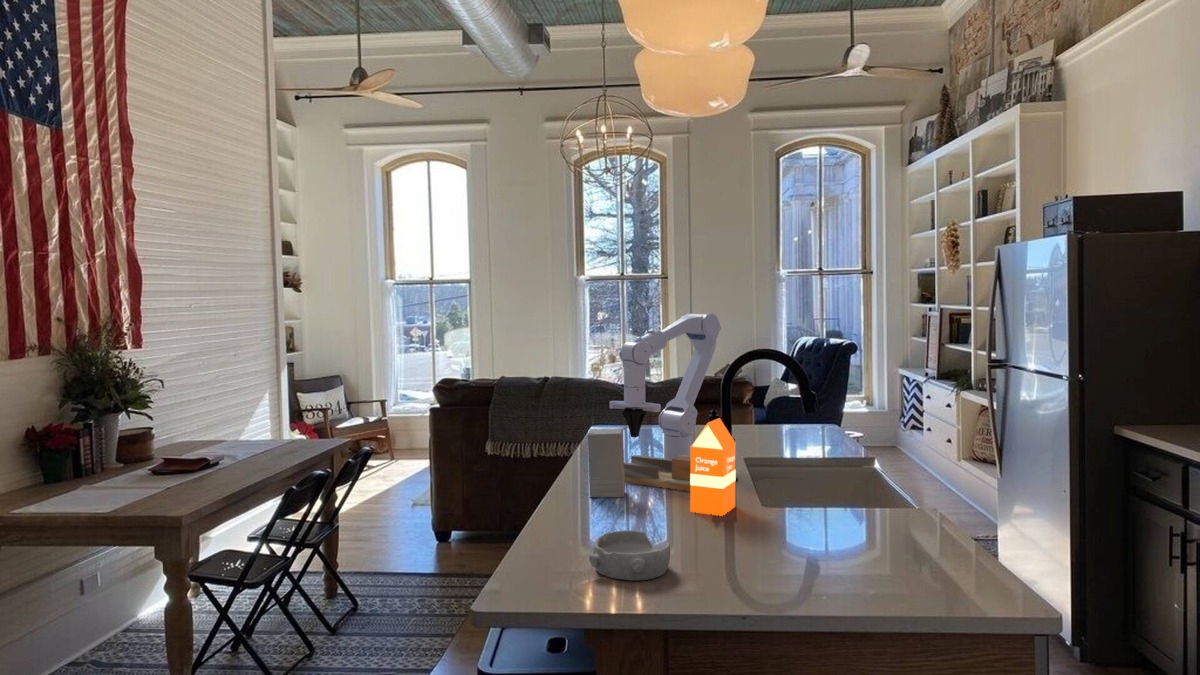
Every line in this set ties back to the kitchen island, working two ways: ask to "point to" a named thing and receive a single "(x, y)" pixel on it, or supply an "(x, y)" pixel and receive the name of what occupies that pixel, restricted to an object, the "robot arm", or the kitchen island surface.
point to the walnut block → (681, 467)
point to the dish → (629, 556)
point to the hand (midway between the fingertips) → (634, 436)
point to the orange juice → (713, 471)
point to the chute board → (657, 482)
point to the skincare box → (606, 462)
